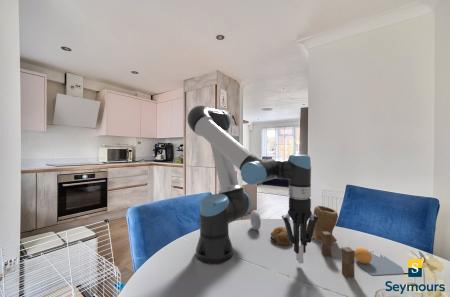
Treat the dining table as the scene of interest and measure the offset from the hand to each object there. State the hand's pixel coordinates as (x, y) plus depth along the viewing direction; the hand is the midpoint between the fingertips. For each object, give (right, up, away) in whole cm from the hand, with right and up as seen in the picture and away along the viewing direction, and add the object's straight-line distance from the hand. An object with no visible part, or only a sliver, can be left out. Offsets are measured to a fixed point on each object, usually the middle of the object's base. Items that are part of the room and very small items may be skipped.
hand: (299, 261), depth 73 cm
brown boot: (+18, -2, +22) cm, 29 cm away
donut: (-11, -2, +32) cm, 34 cm away
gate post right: (+14, -2, -5) cm, 15 cm away
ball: (+24, +1, +2) cm, 25 cm away
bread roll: (-1, -2, +20) cm, 20 cm away
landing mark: (+29, -2, +2) cm, 29 cm away
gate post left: (+14, -2, +7) cm, 15 cm away
